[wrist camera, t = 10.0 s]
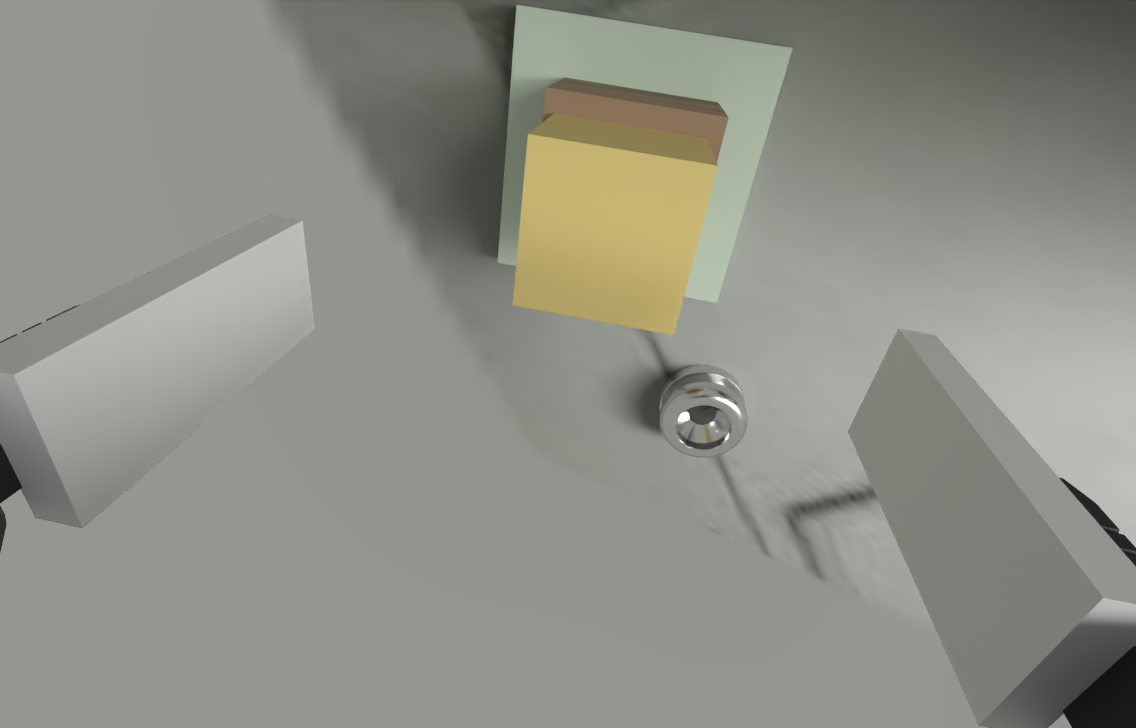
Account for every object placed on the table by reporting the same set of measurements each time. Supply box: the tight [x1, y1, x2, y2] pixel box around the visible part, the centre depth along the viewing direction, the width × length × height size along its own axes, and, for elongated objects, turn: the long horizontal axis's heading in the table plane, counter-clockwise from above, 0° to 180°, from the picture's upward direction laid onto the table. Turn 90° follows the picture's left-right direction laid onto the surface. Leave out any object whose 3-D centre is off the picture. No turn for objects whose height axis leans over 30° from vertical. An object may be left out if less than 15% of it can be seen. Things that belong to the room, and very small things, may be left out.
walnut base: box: [542, 77, 729, 162], centre depth 26 cm, size 7×7×5 cm
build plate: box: [498, 5, 793, 303], centre depth 28 cm, size 12×12×1 cm
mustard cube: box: [513, 113, 718, 335], centre depth 22 cm, size 6×6×5 cm
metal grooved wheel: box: [659, 365, 748, 457], centre depth 34 cm, size 5×3×5 cm
